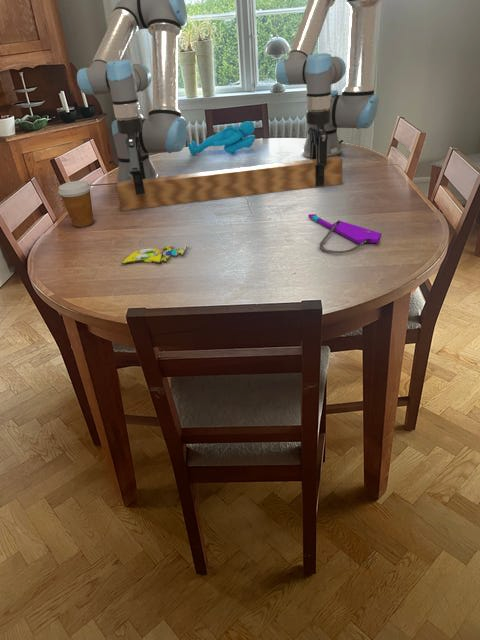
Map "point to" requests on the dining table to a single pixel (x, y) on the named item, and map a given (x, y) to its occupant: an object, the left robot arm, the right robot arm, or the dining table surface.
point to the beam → (227, 183)
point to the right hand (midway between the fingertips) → (317, 183)
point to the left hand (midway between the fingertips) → (141, 187)
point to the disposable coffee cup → (77, 202)
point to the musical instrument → (348, 233)
